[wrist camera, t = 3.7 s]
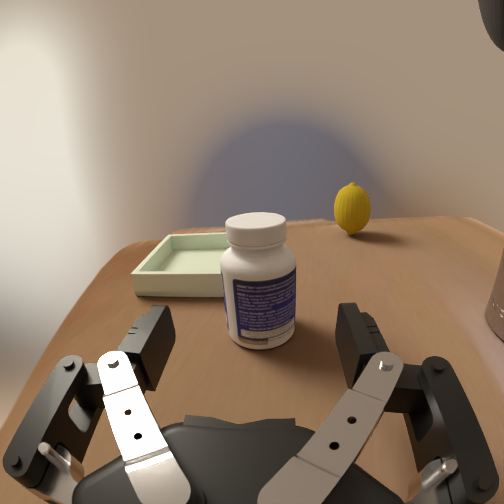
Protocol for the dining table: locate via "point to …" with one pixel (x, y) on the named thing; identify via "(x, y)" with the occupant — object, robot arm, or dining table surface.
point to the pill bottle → (258, 281)
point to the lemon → (352, 208)
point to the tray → (183, 267)
